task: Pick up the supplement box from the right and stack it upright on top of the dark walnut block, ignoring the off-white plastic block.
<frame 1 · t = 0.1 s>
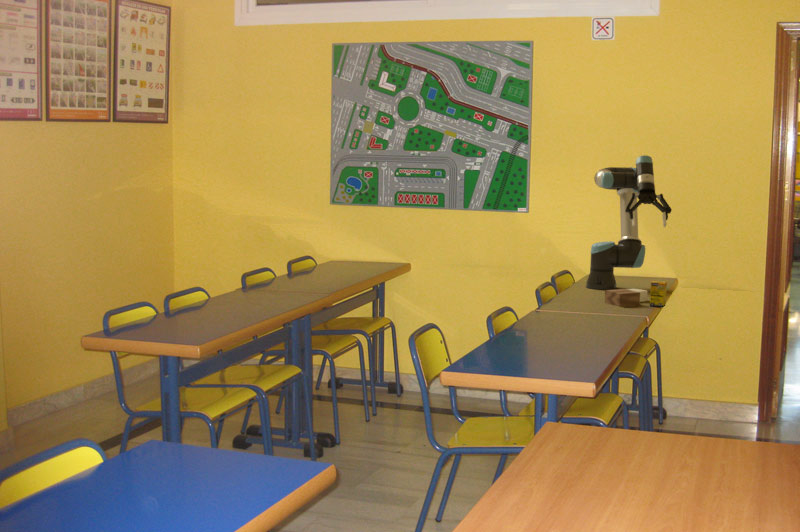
hand: (649, 225, 388), 36 cm above the table, tool tilted 35°, fingers open, 13 cm apart
off-white block: (634, 300, 403), on the table
supplement box: (657, 306, 388), on the table
walnut block: (621, 304, 393), on the table
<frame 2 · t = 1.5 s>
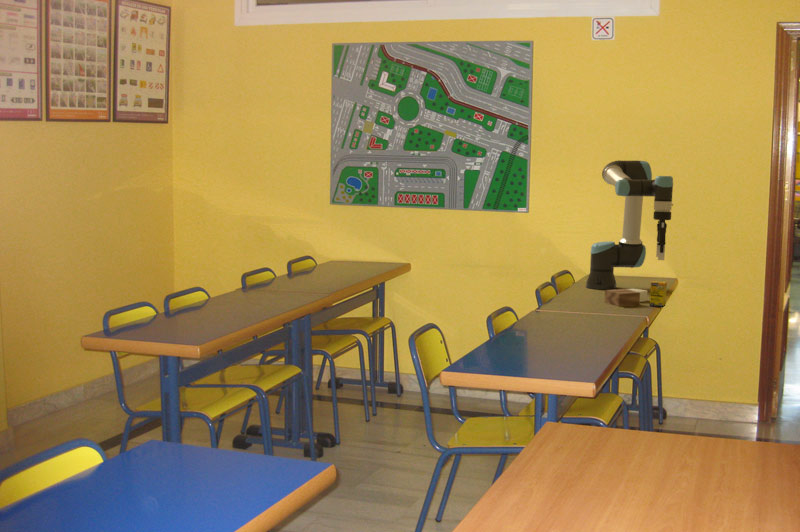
hand: (660, 258, 385), 21 cm above the table, tool pointing down, fingers open, 13 cm apart
nothing on the table moved.
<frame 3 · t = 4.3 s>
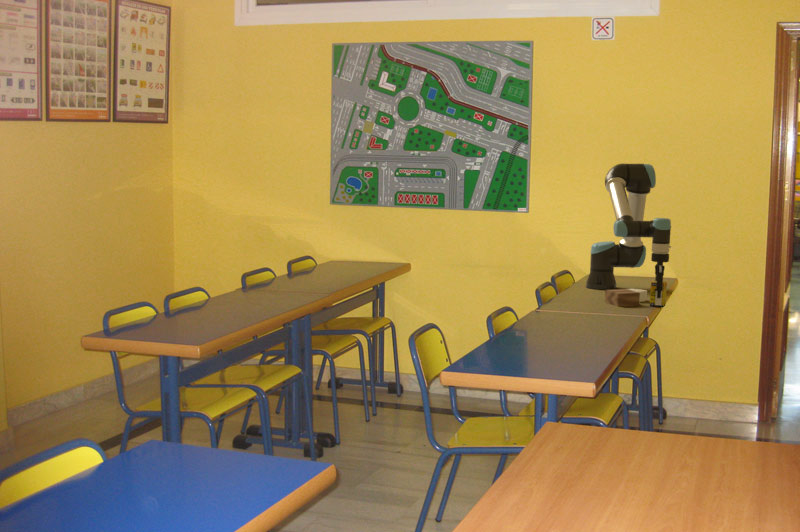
hand: (657, 303, 388), 1 cm above the table, tool pointing down, fingers closed on supplement box, 7 cm apart
supplement box: (657, 306, 388), on the table, touching gripper
everything else where it was.
when the fingers open (8 cm above the table, at t = 10.2 s): supplement box drops 2 cm, resting on walnut block.
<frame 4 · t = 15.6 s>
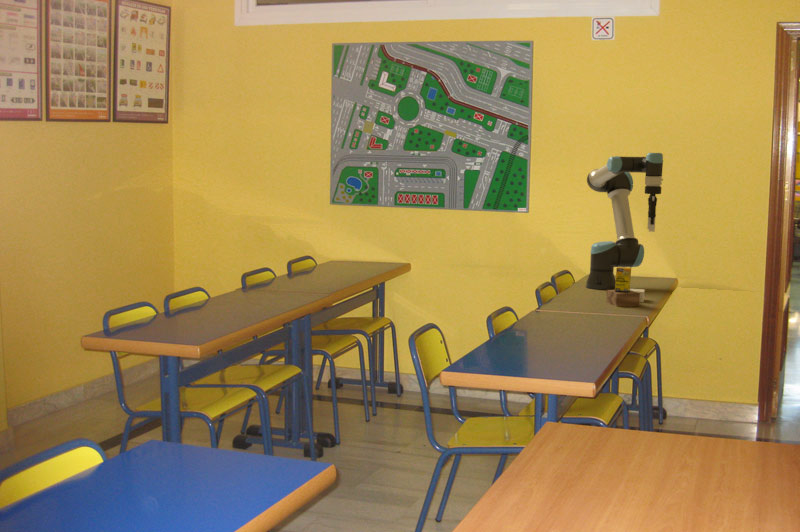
hand: (650, 230, 412), 32 cm above the table, tool pointing down, fingers open, 13 cm apart
supplement box: (622, 291, 392), point 5 cm above the table, touching walnut block
walnut block: (622, 304, 392), on the table, touching supplement box
at the end: supplement box inside the target area on the walnut block (0.4 cm from its centre), point 5.9 cm above the walnut block's base; supplement box tilted 1°; the gripper is holding nothing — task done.
